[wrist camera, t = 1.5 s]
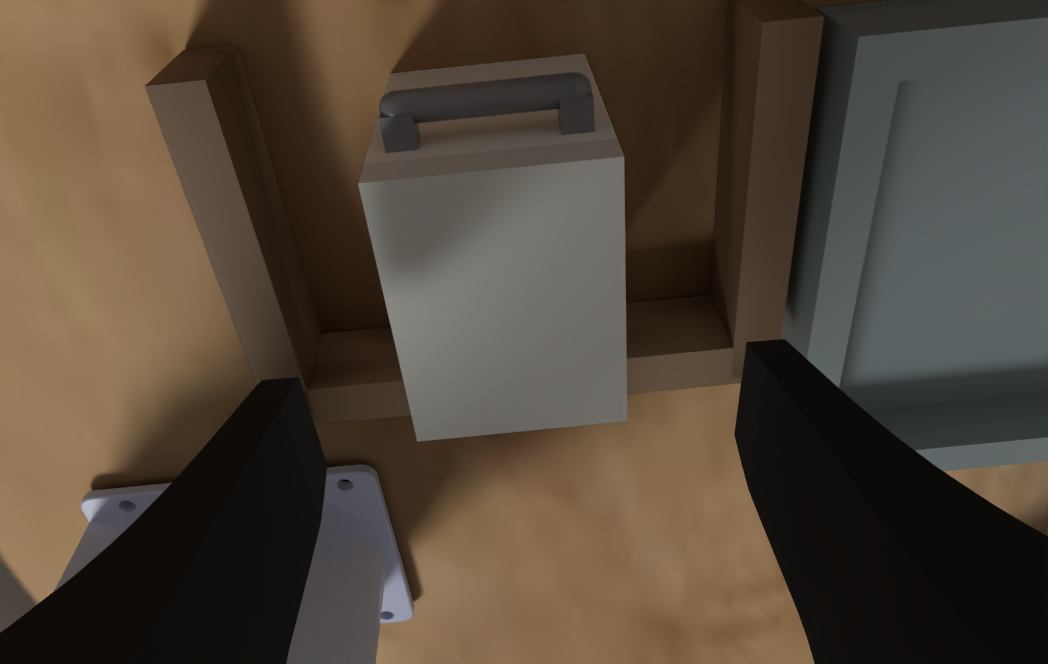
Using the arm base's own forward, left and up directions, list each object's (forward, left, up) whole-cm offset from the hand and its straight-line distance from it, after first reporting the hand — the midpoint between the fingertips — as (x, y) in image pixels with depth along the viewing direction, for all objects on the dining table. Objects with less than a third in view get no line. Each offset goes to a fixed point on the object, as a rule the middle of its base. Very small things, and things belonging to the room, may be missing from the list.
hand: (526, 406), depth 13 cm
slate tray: (+14, -3, -9) cm, 16 cm away
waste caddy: (0, 0, -9) cm, 9 cm away
